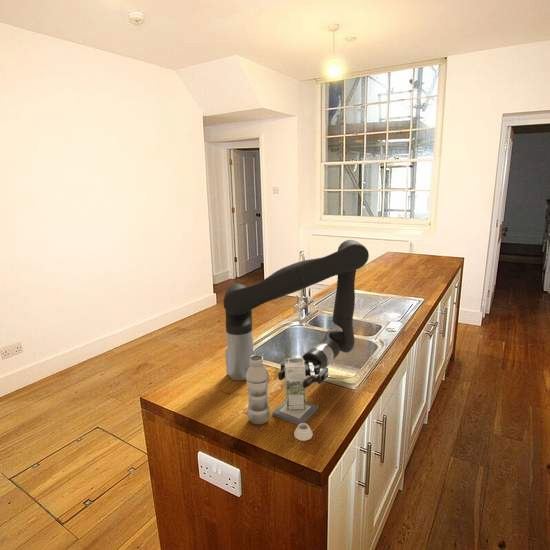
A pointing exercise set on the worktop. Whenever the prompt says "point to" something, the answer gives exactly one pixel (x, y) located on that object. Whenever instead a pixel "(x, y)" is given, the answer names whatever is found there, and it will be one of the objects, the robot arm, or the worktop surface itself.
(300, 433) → the white jar
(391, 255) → the worktop surface
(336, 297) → the robot arm
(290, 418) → the plate
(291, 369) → the syrup box
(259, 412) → the plastic bottle
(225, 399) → the worktop surface
